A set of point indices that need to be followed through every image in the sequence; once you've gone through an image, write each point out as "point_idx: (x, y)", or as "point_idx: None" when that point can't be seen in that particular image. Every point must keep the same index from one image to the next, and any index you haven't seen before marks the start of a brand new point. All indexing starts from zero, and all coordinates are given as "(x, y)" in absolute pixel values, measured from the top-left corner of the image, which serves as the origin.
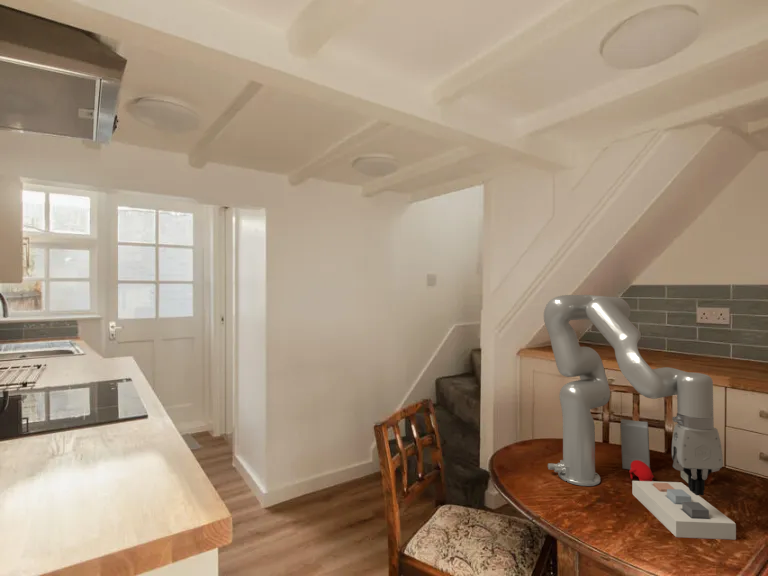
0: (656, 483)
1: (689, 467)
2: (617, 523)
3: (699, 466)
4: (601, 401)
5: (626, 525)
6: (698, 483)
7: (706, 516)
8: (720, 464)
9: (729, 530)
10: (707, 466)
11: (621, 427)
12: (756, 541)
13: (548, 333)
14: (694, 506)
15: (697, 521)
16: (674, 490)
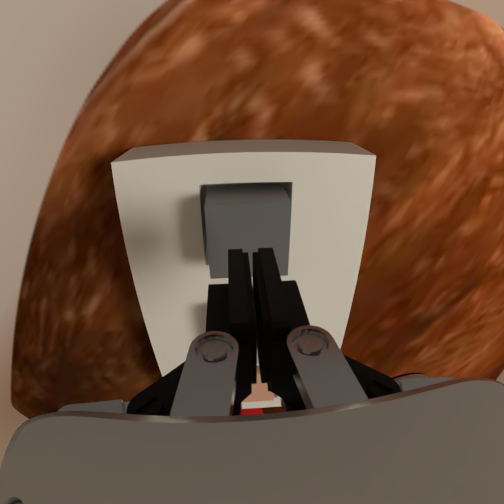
0: (266, 397)
1: (457, 388)
2: (462, 216)
3: (348, 435)
4: None
5: (449, 207)
6: (272, 300)
7: (218, 193)
8: (24, 456)
9: (145, 152)
10: (216, 452)
11: None
12: (72, 151)
13: None
14: (256, 237)
15: (280, 157)
16: (257, 357)
